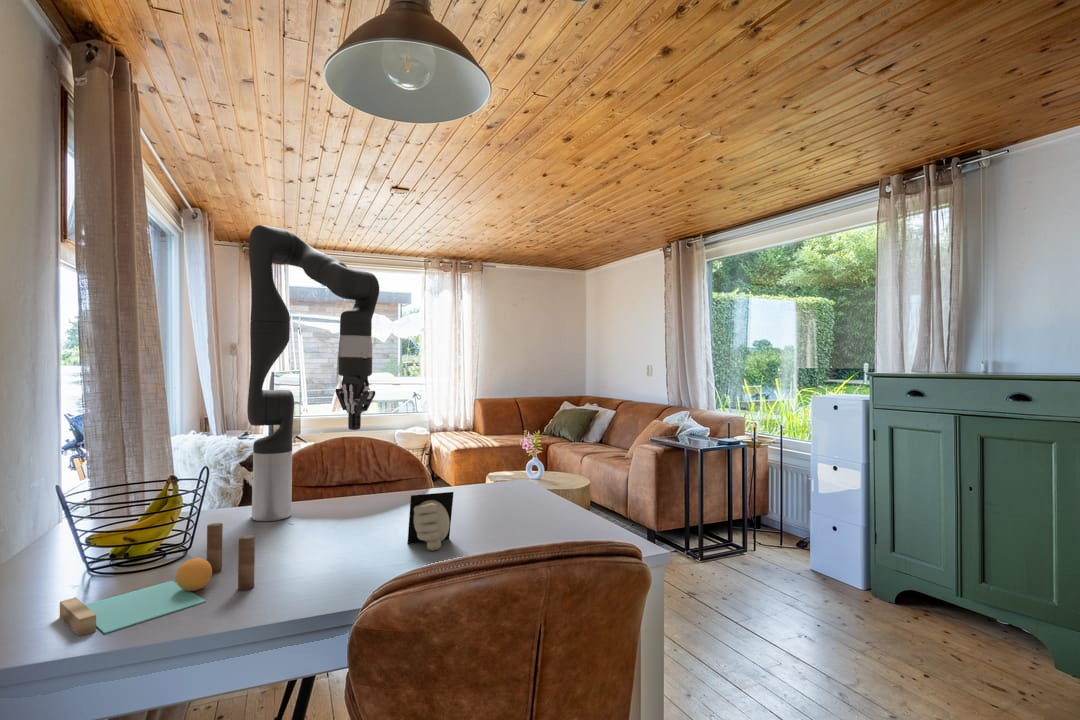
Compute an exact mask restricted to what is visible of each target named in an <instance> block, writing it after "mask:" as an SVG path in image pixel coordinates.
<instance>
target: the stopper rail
mask: <svg viewBox="0 0 1080 720" xmlns="http://www.w3.org/2000/svg"><path fill="white" fill-rule="evenodd" d="M59 618H60V620H62V621H63V622H64V623H65V624H66V625H67V626H68V627H69V628H70V629H71V630H72V631H73V632H74V633H75V634H76V635H77V636H78V637H83V636H85V635H88V634H92V633H95V632H97V627H96V614H95V613H94V612H93V611H91V610H90V609H89V608H88V607H87V606H85V604H84V602H82V601H81V600H80V599H78V598H77V597H72V598H68V599H63V600H61V601H59Z"/></svg>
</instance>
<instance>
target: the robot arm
mask: <svg viewBox="0 0 1080 720" xmlns="http://www.w3.org/2000/svg"><path fill="white" fill-rule="evenodd" d="M248 237H249V238H248V260H249V273H250V275H249V276H250V289H251V290H250V292H251V293H250V296H251V297H250V298H251V299H250V302H251V303H250V304H251V305H250V320H249V321H250V322H249V323H250V324H249V325H250V329H249V336H250V337H249V344H250V345H249V346H250V367H249V369H250V370H249V372H250V373H249V381H248V382H249V383H248V395H247V396H248V397H247V407H246V408H247V420H248V423H249V424H250V425H251V426H254V427H255V426H257V427H260V426H261V427H262V426H278V429H277V430H275V431H274V432H272V433H270V434H269V435H267V436H264V437H261V438H259V439H256V440H255V441H254V443H253V445H252V446H253V449H252V451H253V452H252V481H251V485H252V486H251V517H252V520H254V521H256V522H273V521H280V520H284V519H288V518H289V517H291V516H292V500H293V499H292V498H293V497H292V496H293V495H292V494H293V493H292V491H293V489H292V488H293V486H292V484H293V482H292V481H293V427H294V426H293V425H294V424H293V423H294V412H295V397H294V394H293V392H292V391H291V390H289V389H265V390H264V389H263V387H264V384H265V383H264V382H265V380H266V377H267V375H268V374H269V372H270V370H271V368H272V366H273V365H274V364H275V363H276V361H277V360H278V358H279V357H280V356H281V355H282V353H283V352H284V350H285V349H286V347H287V346H288V344H289V342H290V338H291V337H290V336H291V335H290V333H291V315H290V312H289V309H288V307H287V305H286V304H285V302H284V299H283V298H282V296H281V295H280V293H279V290H278V289H277V287H276V284H275V282H274V274H273V264H275V265H281V266H282V265H288V266H292V267H297V268H301V269H302V270H303V272H304V274H305V275H306V276H307V277H309V278H310V279H311V280H313V281H314V282H316V283H317V284H318V283H319V284H320V285H323V286H324V287H326V288H327V289H328V290H329V291H330V292H331V293H332V294H333V295H335V296H337V297H339V298H342V299H345V300H351V301H355V302H354V303H353V304H354V305H353V307H352V309H348V310H344V311H343V312H341V314H340V316H339V319H340V320H339V323H340V324H339V341H338V358H337V359H338V360H337V361H338V363H337V365H338V367H337V371H338V372H337V373H338V375H339V376H340V377H342V380H341V386H340V387H339V388H338V387H337V388H336V389H334V390H335V391H334V392H335V394H336V396H337V399H338V402H339V404H340V407H341V409H342V410H343V411H346V413H347V414H348V418H347V419H348V422H347V425H348V430H351V431H358V430H360V429H361V425H362V423H361V419H362V414H363V413H364V412H367V411H368V409H369V407H370V405H371V403H372V402H373V400H374V398H375V396H376V391H375V390H371V388H370V387H369V386H370V382H369V377H370V376H372V374H373V341H372V327H373V325H372V319H373V316H374V313H375V310H376V306H377V303H378V299H379V295H380V284H379V281H378V278H377V276H375V274H374V273H372V272H370V271H364V270H360V269H354V268H349V267H348V266H347V265H346V264H345V263H344V262H342V261H341V260H339V259H337V258H335V257H333V256H330V255H328V254H326V253H323V252H322V251H319V250H318V249H316V248H314V247H312V246H311V245H309V243H307V242H306V241H304V240H303V239H302V238H301V237H299V236H298V235H297V234H295V233H294V232H292V231H290V230H288V229H284V228H279V227H275V226H269V225H264V224H258V225H255V226H254V227H253V228H252V230H251V232H250V233H249V236H248Z"/></svg>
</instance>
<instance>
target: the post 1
mask: <svg viewBox="0 0 1080 720" xmlns="http://www.w3.org/2000/svg"><path fill="white" fill-rule="evenodd" d="M223 528H224V526H223V523H222V522H215V523H210V524H208V525H206V561H208V562H209V563H210V565H211V567H212V575H213V574H218V573H220V572H222V571H223V538H224V537H223V530H224V529H223Z"/></svg>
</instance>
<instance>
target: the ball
mask: <svg viewBox="0 0 1080 720" xmlns="http://www.w3.org/2000/svg"><path fill="white" fill-rule="evenodd" d="M212 575H213V574H212V567H211V565H210V563H209V562H208V561H207V559H205V558H203V557H202V558H201V557H195V558H191V559H188V560H186V561H185V562H183V563H181V565H180V566H179V567H178V569H177V571H176V574H175V581H176V582H175V583H177V584H178V586H179V587H180V588H182V589H183V590H186V591H190V592H195V591H197V590H200V589H203V588H204V587H205V586H206V585H207V584H208V583H209V581H210V580H211V578H212Z"/></svg>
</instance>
